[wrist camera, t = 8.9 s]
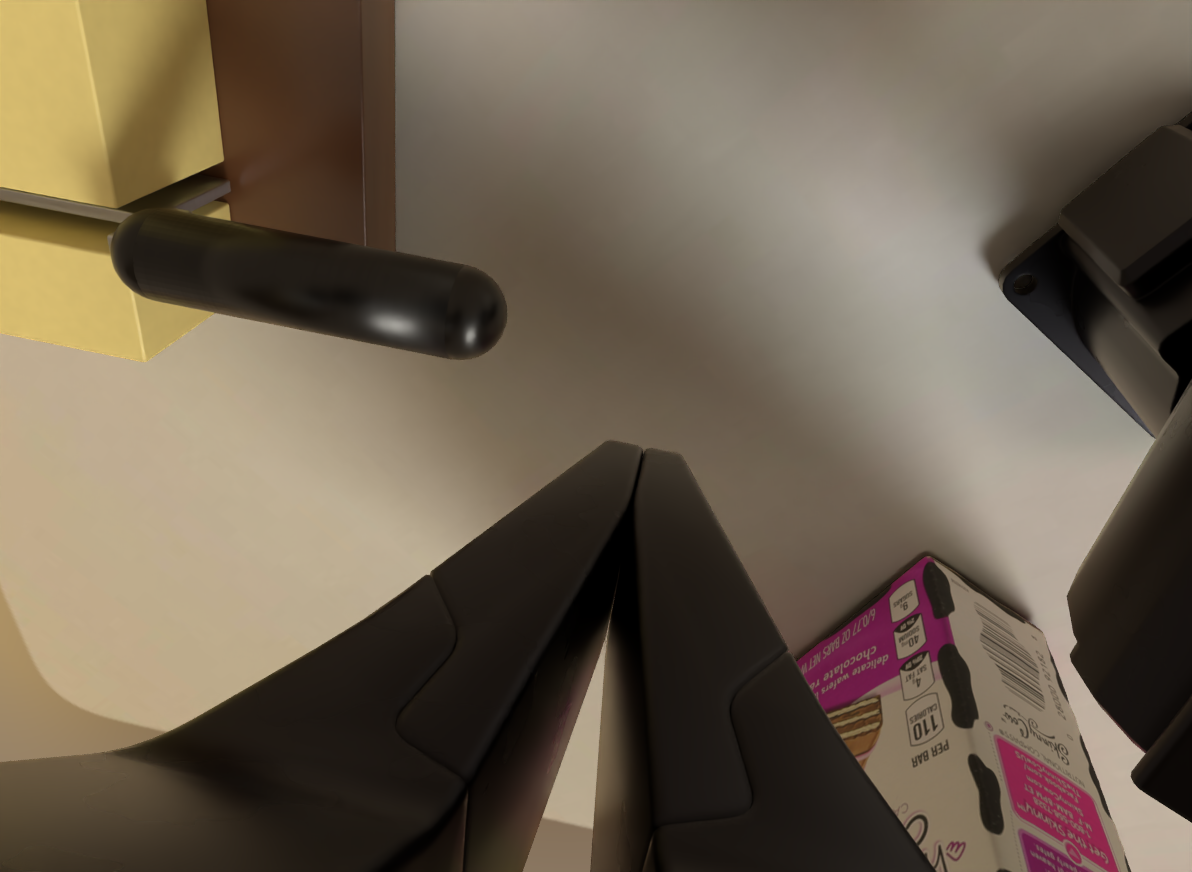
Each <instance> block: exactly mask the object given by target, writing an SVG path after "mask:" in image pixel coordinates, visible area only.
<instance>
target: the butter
mask: <svg viewBox="0 0 1192 872" xmlns="http://www.w3.org/2000/svg"><path fill="white" fill-rule="evenodd" d="M223 161H224V155H223V146H222V137H221V129H220V120H219V111H218V102H217V93H216V85H215V76H214V67H213V58H212V50H211V41H210V32H209V23H208V15H207V6H206V0H0V187H4V188H9V189H15V190H20V191H25V192H31V193H36V194H41V195H46V196H52V197H57V198H62V199H68V200H73V201H78V202H84V203H89V204H94V205H99V206H105V207H110V208H119V207H121V206H123V205H126V204H128V203H130V202H132V201H135V200H137V199H139V198H141V197H144V196H146V195H148V194H151V193H153V192H155V191H157V190H160V189H162V188H164V187H166V186H169V185H171V184H173V183H175V182H178V181H180V180H182V179H184V178H187V177H189V176H191V175H193V174H196V173H198V172H200V171H202V170H205V169H207V168H209V167H211V166H214V165H216V164H218V163H220V162H223ZM192 213H193V214H197V215H202V216H208V217H213V218H218V219H224V220H229V221H231V218H230V209H229V204H228V203H224V202H219V201H212V202H210V203H208V204H206V205H204V206H202V207H200V208H198V209H196V210H194V211H192ZM119 224H120V223H116V222H111V221H105V220H100V219H95V218H90V217H84V216H79V215H74V214H69V213H63V212H58V211H53V210H48V209H42V208H37V207H32V206H26V205H21V204H16V203H11V202H5V201H0V333H2V334H7V335H12V336H17V337H22V338H27V339H31V340H36V341H41V342H46V343H51V344H56V345H61V346H66V347H71V348H76V349H81V350H86V351H91V352H96V353H101V354H105V355H110V356H115V357H120V358H125V359H130V360H135V361H140V362H147V361H148V360H150V359H151V358H153V357H154V356H155V355H157V354H158V353H160V352H161V351H162V350H164V349H165V348H167V347H168V346H169V345H171V344H172V343H174V342H175V341H176V340H178V339H179V338H181V337H182V336H183V335H185V334H186V333H188V332H189V331H190V330H192V329H193V328H195V327H196V326H197V325H199V324H200V323H202V322H203V321H204V320H206V319H207V318H209V317H210V316H211V315H213V314H214V313H213V312H208V311H203V310H198V309H193V308H188V307H183V306H178V305H173V304H168V303H162V302H157V301H153V300H150V299H147V298H144V297H142V296H140V295H138V294H137V293H135V292H133V291H132V290H131V289H130V288H129V287H127V286H126V285H125V284H124V283H123V282H122V281H121V279H120V278H119V276H118V275H117V273H116V272H115V269H114V267H113V264H112V260H111V255H110V250H109V245H108V240H107V236H108V235H109V234H111V233H113V232H115V231H116V229H117V227H118V226H119Z"/></svg>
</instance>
